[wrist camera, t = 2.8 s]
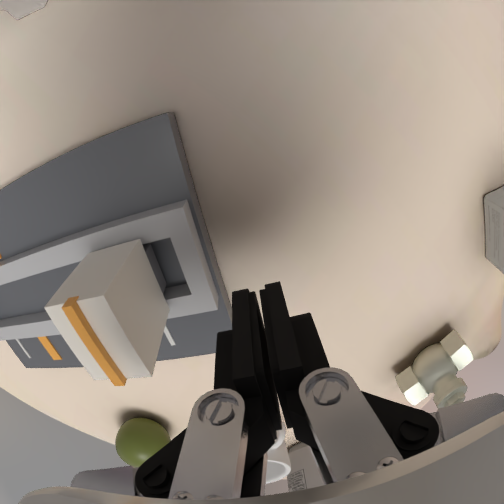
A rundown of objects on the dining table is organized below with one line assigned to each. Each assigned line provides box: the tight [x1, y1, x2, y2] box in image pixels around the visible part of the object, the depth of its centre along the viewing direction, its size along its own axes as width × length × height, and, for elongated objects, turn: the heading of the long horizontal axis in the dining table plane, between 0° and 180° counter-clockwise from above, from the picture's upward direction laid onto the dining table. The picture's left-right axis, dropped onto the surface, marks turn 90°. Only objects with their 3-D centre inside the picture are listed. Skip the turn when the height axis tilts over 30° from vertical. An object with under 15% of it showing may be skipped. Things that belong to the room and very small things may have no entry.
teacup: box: [266, 421, 291, 484], centre depth 22 cm, size 10×8×5 cm
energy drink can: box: [287, 443, 325, 492], centre depth 22 cm, size 6×6×15 cm
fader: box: [44, 239, 170, 386], centre depth 12 cm, size 4×3×6 cm
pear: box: [116, 418, 171, 468], centre depth 23 cm, size 6×5×10 cm
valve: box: [396, 330, 474, 408], centre depth 17 cm, size 7×7×12 cm
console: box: [0, 113, 232, 368], centre depth 15 cm, size 14×20×3 cm
